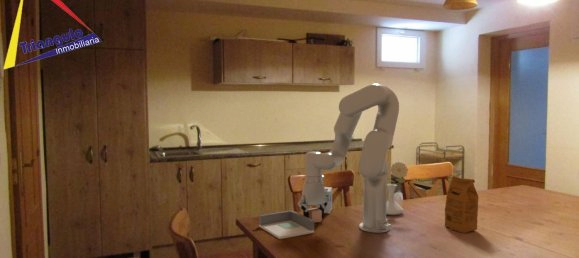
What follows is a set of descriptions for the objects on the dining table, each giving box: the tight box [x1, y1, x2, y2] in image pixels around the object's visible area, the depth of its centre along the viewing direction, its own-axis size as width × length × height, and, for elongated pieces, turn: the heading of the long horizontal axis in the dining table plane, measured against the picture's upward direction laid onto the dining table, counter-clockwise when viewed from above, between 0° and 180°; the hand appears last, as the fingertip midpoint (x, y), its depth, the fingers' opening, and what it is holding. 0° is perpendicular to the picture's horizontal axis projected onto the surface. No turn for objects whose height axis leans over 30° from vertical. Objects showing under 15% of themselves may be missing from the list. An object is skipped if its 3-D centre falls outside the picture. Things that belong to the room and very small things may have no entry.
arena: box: [258, 209, 315, 240], centre depth 168 cm, size 18×16×5 cm
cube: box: [308, 207, 323, 224], centre depth 180 cm, size 5×5×5 cm
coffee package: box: [444, 174, 479, 234], centre depth 168 cm, size 10×12×22 cm
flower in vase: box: [386, 161, 409, 216], centre depth 191 cm, size 13×11×25 cm
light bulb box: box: [316, 186, 333, 214], centre depth 198 cm, size 11×7×11 cm, turn 168°
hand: (313, 218), depth 181 cm, fingers open, 7 cm apart
